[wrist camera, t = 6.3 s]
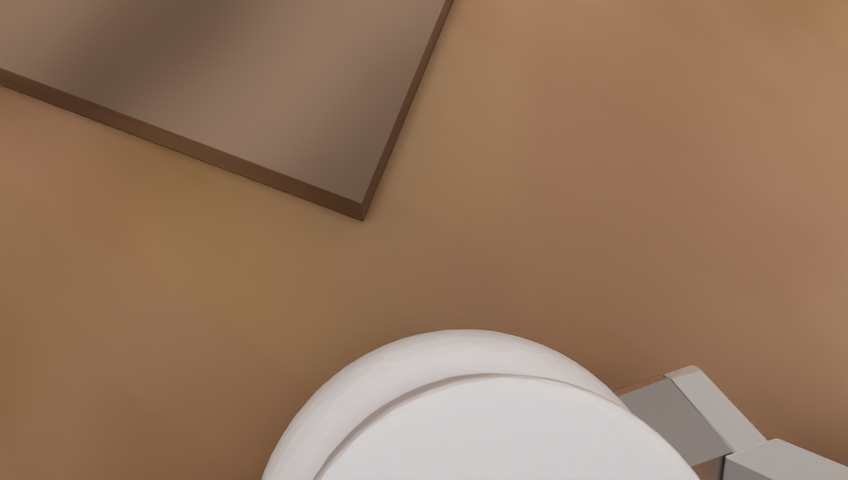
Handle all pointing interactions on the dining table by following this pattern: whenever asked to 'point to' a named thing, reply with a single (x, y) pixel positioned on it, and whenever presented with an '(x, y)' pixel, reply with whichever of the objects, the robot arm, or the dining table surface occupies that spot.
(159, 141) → the walnut board
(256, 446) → the dining table surface
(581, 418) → the supplement bottle
